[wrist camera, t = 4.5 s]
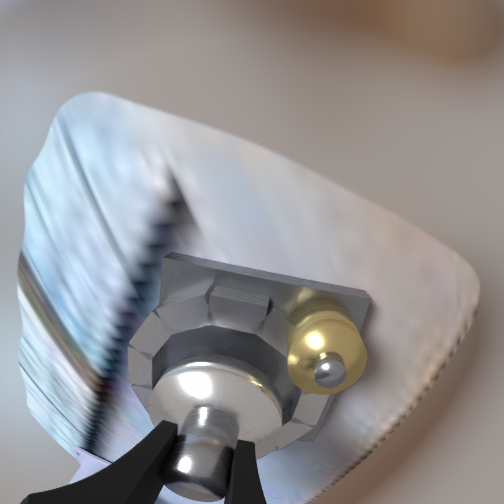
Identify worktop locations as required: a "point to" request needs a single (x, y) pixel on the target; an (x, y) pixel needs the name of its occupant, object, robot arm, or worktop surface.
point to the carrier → (256, 334)
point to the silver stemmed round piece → (213, 420)
